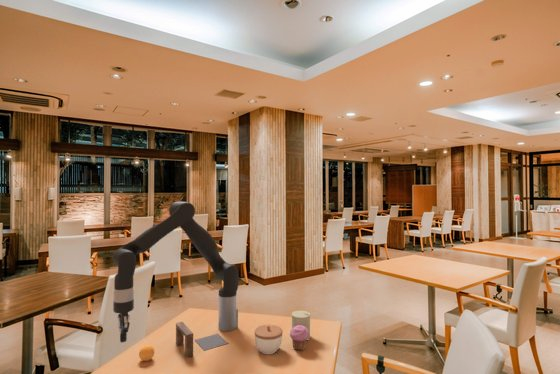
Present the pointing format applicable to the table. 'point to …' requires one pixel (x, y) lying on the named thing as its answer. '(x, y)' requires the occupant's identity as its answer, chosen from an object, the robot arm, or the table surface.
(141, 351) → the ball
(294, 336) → the cupcake
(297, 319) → the can
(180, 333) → the bridge
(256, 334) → the lidded bowl
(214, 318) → the table surface
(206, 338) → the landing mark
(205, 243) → the robot arm
